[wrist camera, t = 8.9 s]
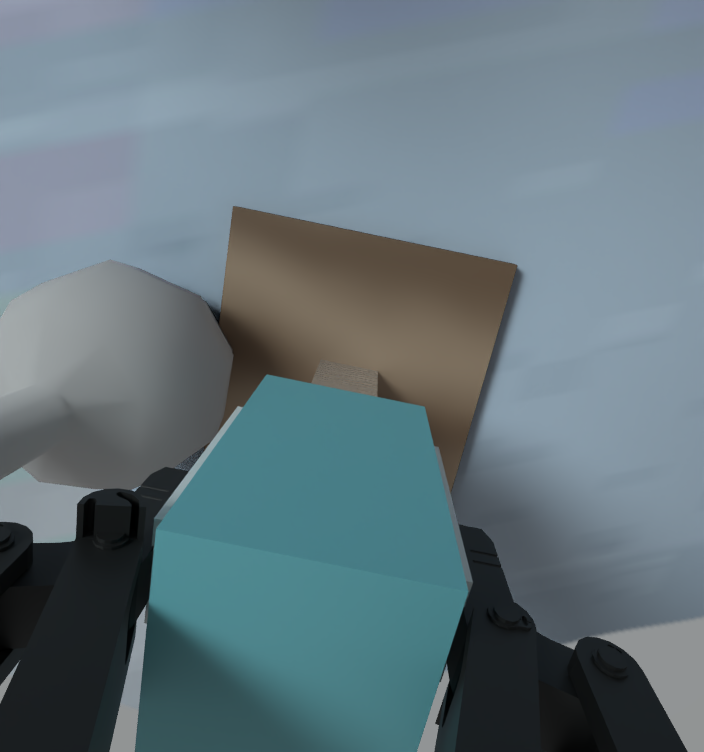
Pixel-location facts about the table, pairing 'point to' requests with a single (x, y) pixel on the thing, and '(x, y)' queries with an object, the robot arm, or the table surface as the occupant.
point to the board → (362, 316)
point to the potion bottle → (108, 378)
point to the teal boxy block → (303, 582)
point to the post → (346, 378)
